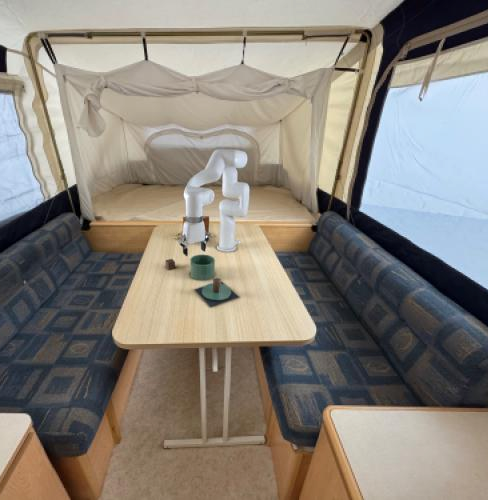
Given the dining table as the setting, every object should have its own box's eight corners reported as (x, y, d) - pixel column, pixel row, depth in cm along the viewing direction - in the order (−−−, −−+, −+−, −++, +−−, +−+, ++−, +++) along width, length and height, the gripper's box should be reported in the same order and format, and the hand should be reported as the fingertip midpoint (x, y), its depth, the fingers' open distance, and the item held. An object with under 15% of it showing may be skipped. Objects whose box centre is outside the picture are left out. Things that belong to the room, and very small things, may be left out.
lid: (220, 282, 133) (221, 270, 130) (236, 296, 122) (237, 283, 119) (196, 289, 127) (196, 276, 124) (211, 304, 116) (211, 291, 113)
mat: (221, 282, 134) (221, 281, 134) (238, 297, 122) (238, 296, 122) (194, 290, 127) (194, 289, 127) (210, 306, 115) (210, 306, 115)
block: (172, 265, 150) (172, 258, 148) (175, 268, 147) (174, 261, 145) (165, 266, 148) (165, 260, 146) (168, 269, 145) (168, 263, 143)
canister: (206, 266, 149) (207, 252, 145) (218, 276, 139) (219, 262, 135) (186, 271, 143) (186, 257, 139) (197, 282, 133) (197, 267, 130)
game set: (212, 231, 198) (212, 206, 190) (217, 243, 179) (218, 215, 170) (174, 232, 195) (173, 207, 187) (175, 244, 175) (174, 217, 167)
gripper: (206, 213, 127) (205, 246, 135) (173, 219, 119) (174, 253, 127) (214, 218, 122) (213, 251, 129) (180, 224, 114) (181, 260, 121)
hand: (194, 252), depth 128 cm, fingers open, 9 cm apart
